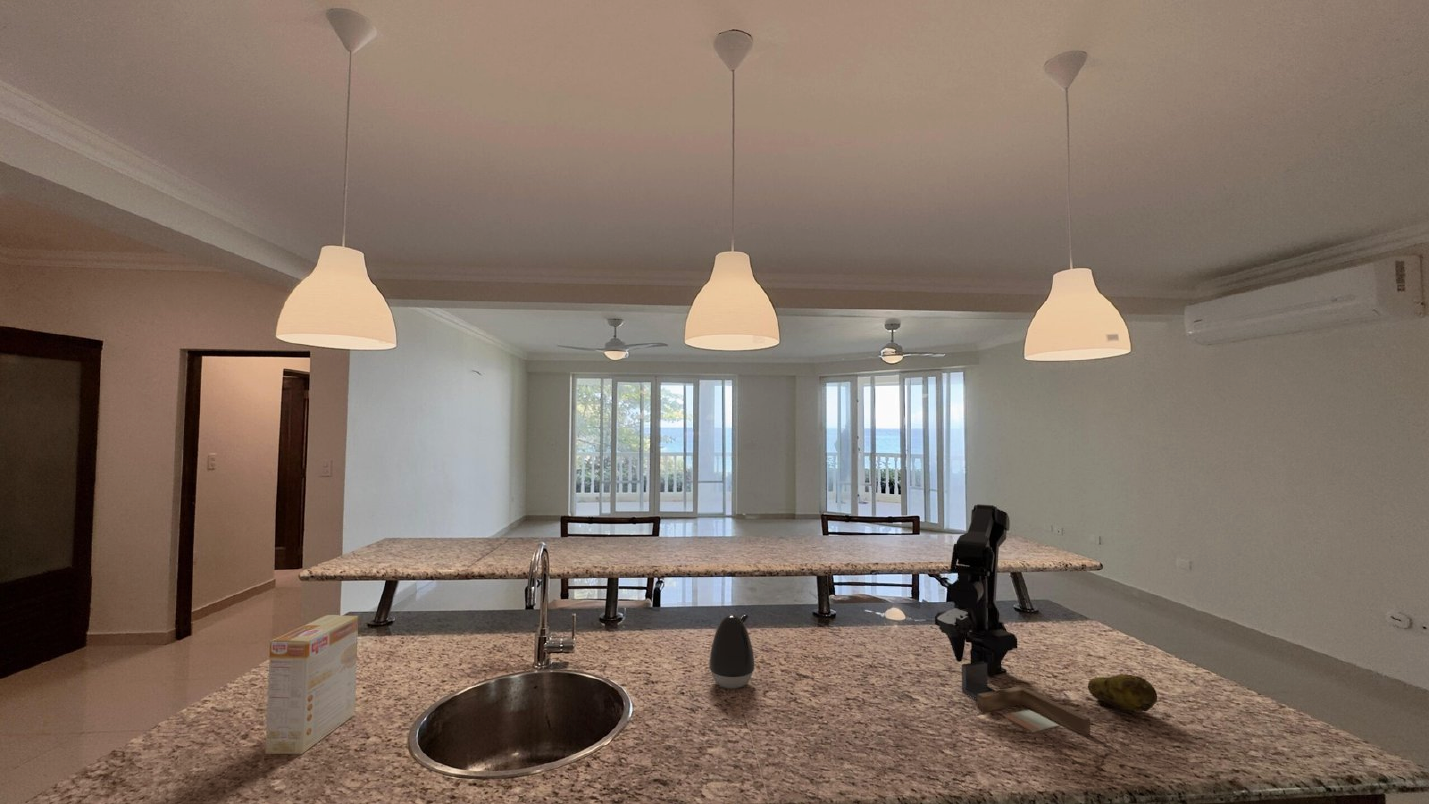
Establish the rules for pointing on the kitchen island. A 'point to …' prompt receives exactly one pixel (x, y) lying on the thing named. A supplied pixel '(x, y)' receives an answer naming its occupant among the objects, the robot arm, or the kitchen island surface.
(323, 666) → the coffeecake box
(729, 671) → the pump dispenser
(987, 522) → the robot arm
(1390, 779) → the kitchen island surface
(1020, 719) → the pad
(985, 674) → the bracket
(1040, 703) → the wooden l-shaped block
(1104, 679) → the potato
